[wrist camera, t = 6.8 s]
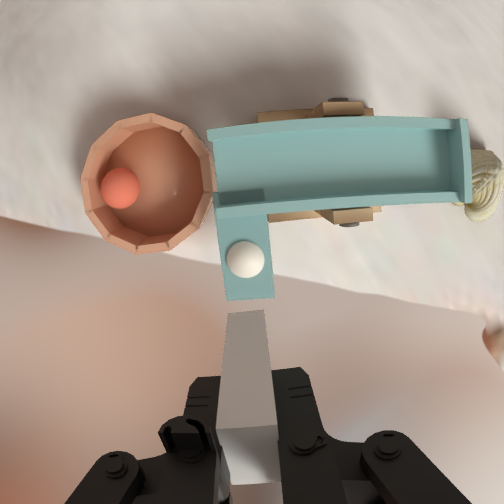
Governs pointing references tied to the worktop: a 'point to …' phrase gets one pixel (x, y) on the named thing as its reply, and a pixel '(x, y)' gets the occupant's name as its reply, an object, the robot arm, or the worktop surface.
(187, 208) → the bowl
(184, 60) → the worktop surface
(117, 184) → the ball
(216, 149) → the lever
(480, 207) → the seashell
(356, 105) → the stand
